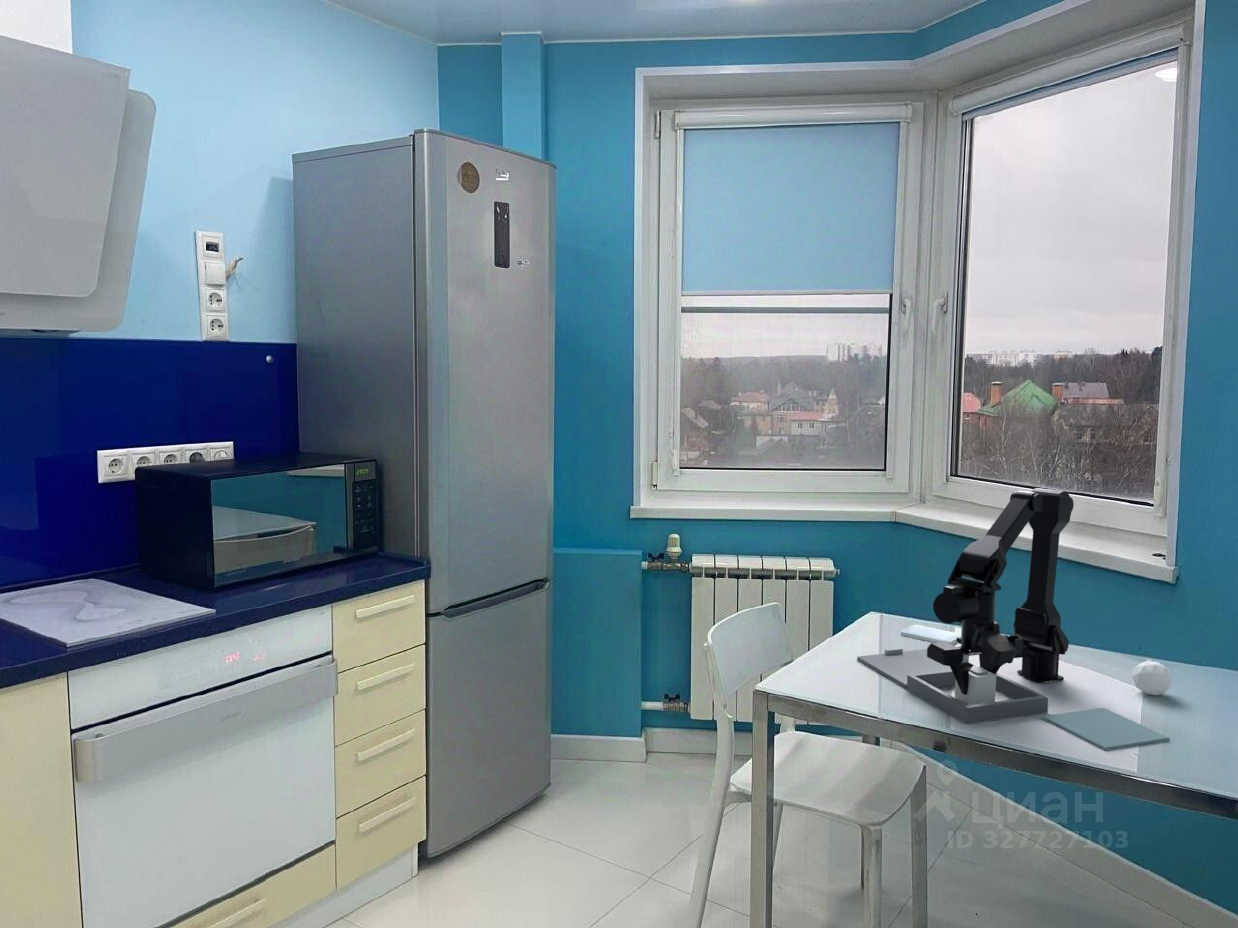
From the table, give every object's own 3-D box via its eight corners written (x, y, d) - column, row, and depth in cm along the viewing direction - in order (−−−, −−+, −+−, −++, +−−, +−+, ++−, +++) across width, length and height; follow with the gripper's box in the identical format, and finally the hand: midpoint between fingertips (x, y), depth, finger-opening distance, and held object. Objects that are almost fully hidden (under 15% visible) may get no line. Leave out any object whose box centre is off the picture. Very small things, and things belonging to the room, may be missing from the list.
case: (926, 652, 195) (926, 639, 194) (1047, 712, 160) (1048, 697, 160) (857, 659, 190) (857, 646, 189) (966, 723, 155) (967, 707, 155)
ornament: (1126, 693, 169) (1122, 657, 173) (1152, 702, 171) (1147, 666, 175) (1155, 687, 164) (1150, 650, 168) (1182, 696, 166) (1176, 659, 169)
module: (973, 693, 170) (975, 662, 169) (994, 705, 164) (996, 672, 163) (954, 696, 168) (955, 664, 168) (975, 707, 163) (976, 675, 162)
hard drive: (900, 630, 208) (950, 641, 199) (916, 623, 214) (965, 633, 205) (900, 637, 208) (950, 648, 199) (915, 630, 214) (965, 640, 205)
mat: (1103, 709, 161) (1103, 707, 161) (1169, 740, 148) (1169, 737, 148) (1042, 718, 157) (1042, 715, 157) (1104, 750, 144) (1104, 747, 144)
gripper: (964, 630, 154) (961, 713, 156) (1049, 622, 159) (1045, 702, 161) (926, 614, 165) (923, 692, 166) (1007, 606, 170) (1003, 682, 171)
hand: (974, 692), depth 166 cm, fingers closed on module, 4 cm apart
